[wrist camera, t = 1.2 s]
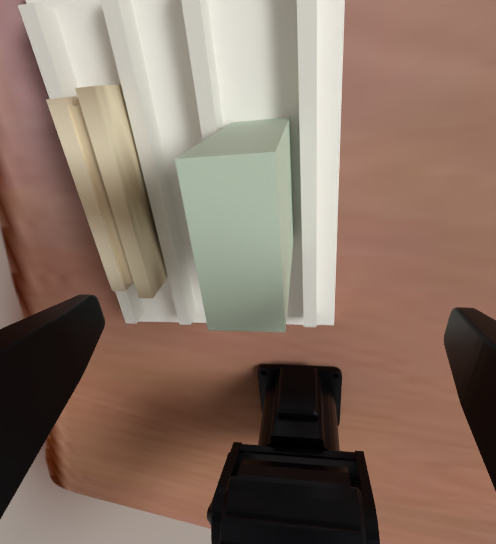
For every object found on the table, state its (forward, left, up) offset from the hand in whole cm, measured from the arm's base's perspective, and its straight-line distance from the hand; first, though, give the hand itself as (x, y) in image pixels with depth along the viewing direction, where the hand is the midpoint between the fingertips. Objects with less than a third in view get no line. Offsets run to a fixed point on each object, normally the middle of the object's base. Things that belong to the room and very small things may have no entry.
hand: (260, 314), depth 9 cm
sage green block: (0, +1, -12) cm, 12 cm away
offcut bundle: (0, +9, -12) cm, 15 cm away
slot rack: (0, +5, -13) cm, 14 cm away
